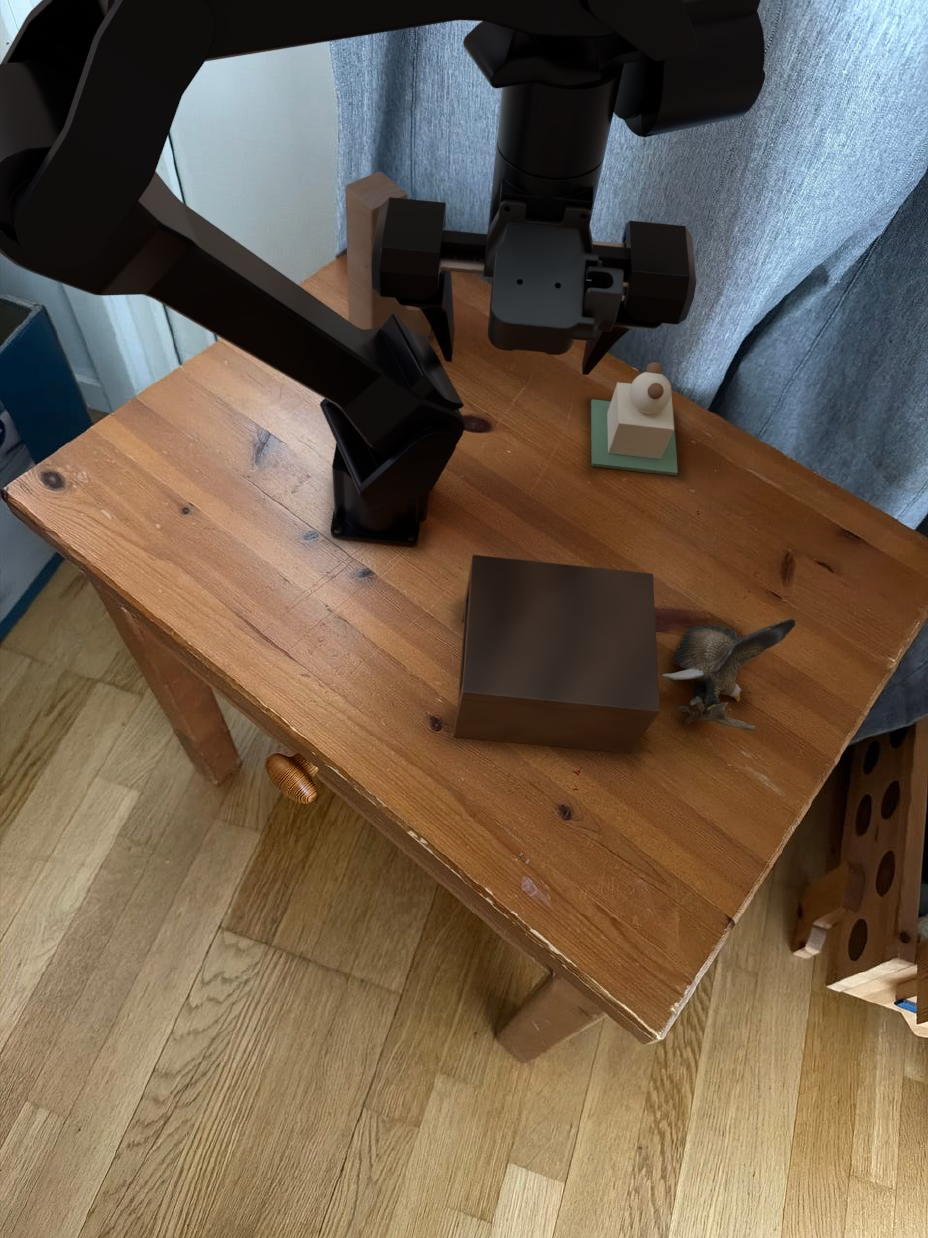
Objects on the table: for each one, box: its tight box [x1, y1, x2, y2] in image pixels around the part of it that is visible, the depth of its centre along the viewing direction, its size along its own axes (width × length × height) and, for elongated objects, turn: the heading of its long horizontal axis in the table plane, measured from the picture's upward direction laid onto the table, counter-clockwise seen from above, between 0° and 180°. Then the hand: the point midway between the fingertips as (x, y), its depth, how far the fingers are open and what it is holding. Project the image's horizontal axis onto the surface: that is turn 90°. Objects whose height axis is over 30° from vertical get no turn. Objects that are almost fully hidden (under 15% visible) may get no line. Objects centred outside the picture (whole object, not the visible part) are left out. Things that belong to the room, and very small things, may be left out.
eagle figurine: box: [661, 617, 797, 731], centre depth 61 cm, size 8×7×9 cm
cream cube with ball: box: [607, 361, 675, 459], centre depth 71 cm, size 4×4×7 cm
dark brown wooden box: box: [452, 554, 661, 754], centre depth 59 cm, size 12×10×7 cm
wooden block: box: [344, 171, 432, 338], centre depth 71 cm, size 7×3×15 cm, turn 130°
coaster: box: [590, 399, 679, 477], centre depth 74 cm, size 7×7×1 cm
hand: (517, 363), depth 60 cm, fingers open, 9 cm apart
